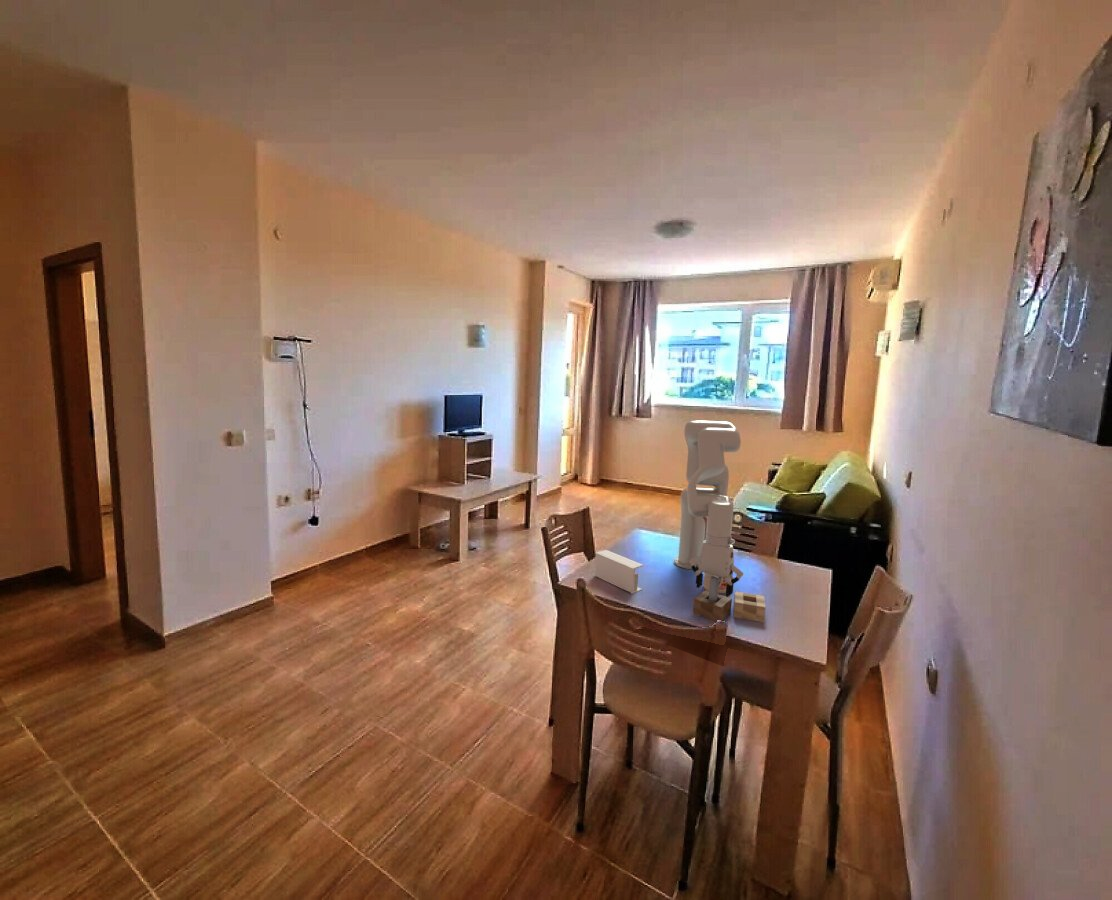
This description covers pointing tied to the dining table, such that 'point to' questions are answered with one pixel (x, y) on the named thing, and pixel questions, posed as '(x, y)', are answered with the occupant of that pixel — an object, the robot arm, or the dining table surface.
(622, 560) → the white channel beam
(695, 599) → the brown square-hole block
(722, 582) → the teacup with lid
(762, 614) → the checkered wooden socket block
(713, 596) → the needle dowel
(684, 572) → the dining table surface
